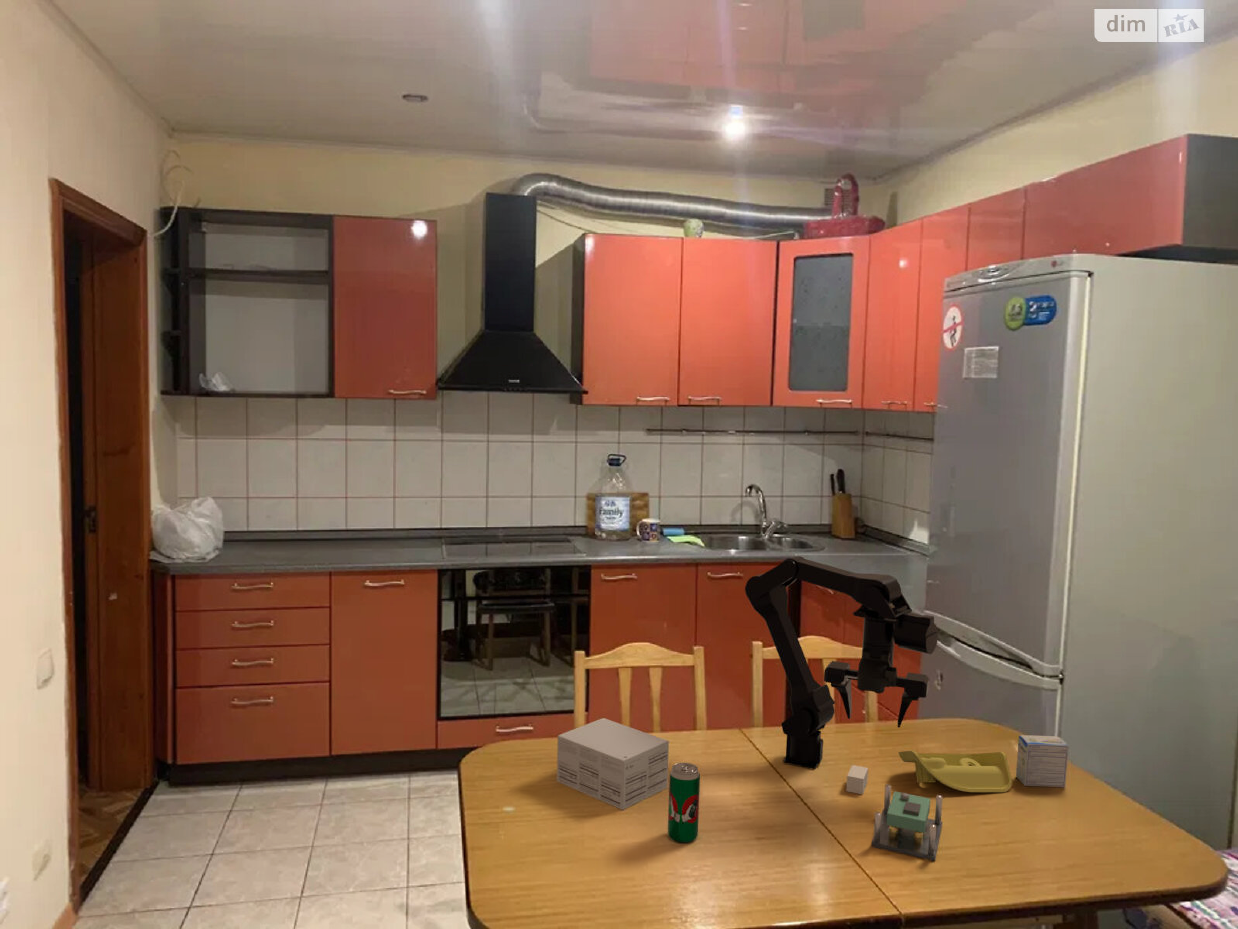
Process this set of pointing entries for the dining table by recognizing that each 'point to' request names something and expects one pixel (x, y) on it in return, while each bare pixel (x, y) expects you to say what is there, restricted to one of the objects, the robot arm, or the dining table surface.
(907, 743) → the dining table surface
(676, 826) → the soda can
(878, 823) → the chassis
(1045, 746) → the medicine box
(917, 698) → the robot arm
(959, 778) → the plastic component
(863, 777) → the white rectangular block
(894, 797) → the board
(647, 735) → the supplement box
